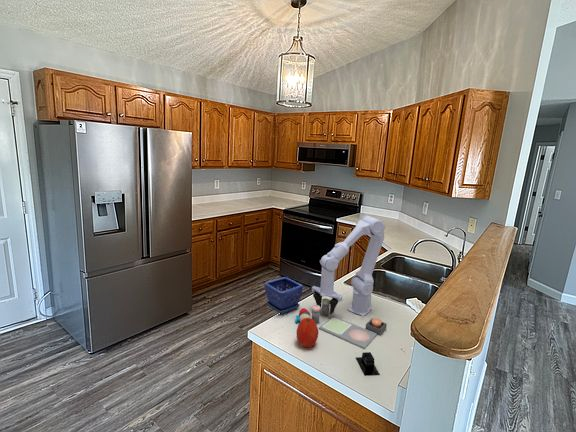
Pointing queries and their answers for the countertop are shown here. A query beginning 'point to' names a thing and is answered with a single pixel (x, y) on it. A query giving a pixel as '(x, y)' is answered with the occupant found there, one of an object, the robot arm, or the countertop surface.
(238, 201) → the countertop surface
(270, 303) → the flower pot
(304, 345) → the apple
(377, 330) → the button housing
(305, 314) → the toy figure
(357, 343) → the picture board
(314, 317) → the rose marker
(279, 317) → the countertop surface
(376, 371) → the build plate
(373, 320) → the button
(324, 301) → the sage marker
